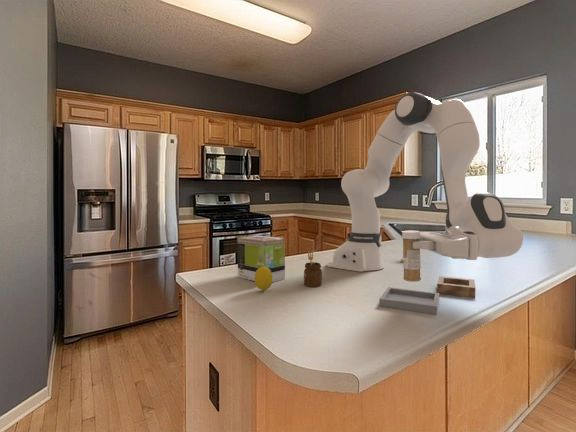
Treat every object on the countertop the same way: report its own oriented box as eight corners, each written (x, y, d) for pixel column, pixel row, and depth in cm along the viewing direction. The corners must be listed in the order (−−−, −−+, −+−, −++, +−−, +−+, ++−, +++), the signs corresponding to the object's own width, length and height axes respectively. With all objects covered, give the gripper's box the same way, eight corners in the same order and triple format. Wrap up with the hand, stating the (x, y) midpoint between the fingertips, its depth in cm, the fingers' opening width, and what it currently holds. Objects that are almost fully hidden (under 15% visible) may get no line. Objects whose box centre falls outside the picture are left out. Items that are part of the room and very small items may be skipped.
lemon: (254, 288, 106) (254, 264, 106) (272, 288, 107) (271, 263, 106) (254, 294, 101) (254, 268, 100) (272, 293, 101) (272, 267, 101)
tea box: (286, 279, 118) (285, 237, 117) (265, 285, 111) (264, 240, 109) (257, 272, 128) (257, 234, 127) (236, 277, 121) (236, 236, 120)
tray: (379, 306, 89) (379, 298, 89) (388, 293, 100) (388, 287, 100) (436, 314, 83) (436, 306, 83) (439, 300, 94) (439, 293, 93)
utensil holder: (323, 283, 112) (323, 247, 111) (319, 288, 106) (319, 250, 105) (306, 281, 114) (306, 246, 113) (301, 286, 108) (301, 250, 107)
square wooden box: (437, 292, 100) (437, 283, 100) (439, 284, 109) (439, 276, 109) (475, 297, 96) (475, 287, 95) (474, 288, 104) (474, 279, 104)
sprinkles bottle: (403, 277, 94) (401, 230, 93) (420, 278, 92) (419, 229, 92) (403, 282, 89) (402, 232, 89) (421, 282, 88) (420, 231, 87)
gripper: (440, 226, 101) (394, 227, 100) (481, 235, 80) (424, 236, 80) (439, 247, 101) (394, 248, 101) (480, 261, 81) (424, 262, 80)
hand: (408, 243), depth 90 cm, fingers closed on sprinkles bottle, 4 cm apart
